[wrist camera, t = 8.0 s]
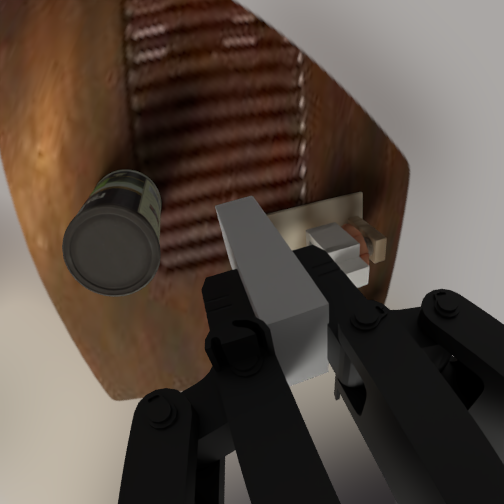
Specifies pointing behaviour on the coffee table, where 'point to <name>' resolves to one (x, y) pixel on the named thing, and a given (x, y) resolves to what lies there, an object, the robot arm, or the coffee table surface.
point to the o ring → (358, 237)
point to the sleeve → (340, 250)
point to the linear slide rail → (327, 221)
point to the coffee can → (116, 235)
